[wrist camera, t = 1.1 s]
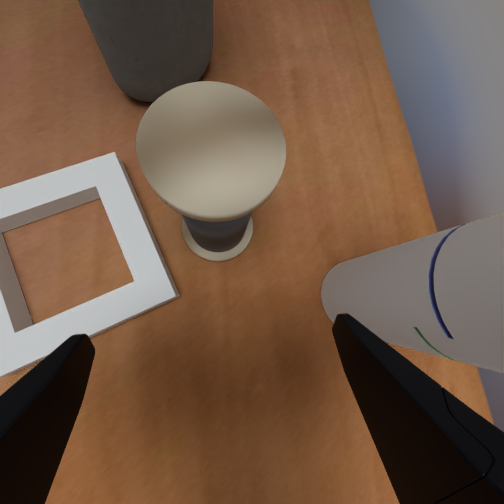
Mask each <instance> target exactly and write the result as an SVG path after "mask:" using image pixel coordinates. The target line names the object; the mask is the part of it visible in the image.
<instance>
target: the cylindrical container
mask: <svg viewBox="0 0 504 504" xmlns="http://www.w3.org/2000/svg"><path fill="white" fill-rule="evenodd" d="M321 300H322V305H323V308H324V310H325V312H326V314H327V316H328V317H329V319H330V320H331V322H333V323H334V321H335V318H336V316H337V315H338V314H342V313H348V314H350V315H351V316H352V317H354V318H355V319H356V320H358V321H359V322H360V323H361V324H363V325H364V326H365V327H366V328H368V329H369V330H370V331H372V332H373V333H374V334H375V335H377V336H378V337H379V338H381V339H382V340H383V341H384V342H386V343H390V344H394V345H398V346H402V347H405V348H409V349H413V350H417V351H421V352H425V353H428V354H432V355H436V356H440V357H444V358H448V359H451V360H455V361H459V362H463V363H467V364H470V365H474V366H478V367H482V368H486V369H489V370H493V371H497V372H501V373H504V212H502V213H499V214H495V215H492V216H489V217H486V218H483V219H479V220H476V221H473V222H470V223H467V224H464V225H460V226H457V227H454V228H450V229H447V230H444V231H441V232H437V233H434V234H431V235H428V236H425V237H421V238H418V239H415V240H412V241H408V242H405V243H402V244H399V245H396V246H392V247H389V248H386V249H383V250H379V251H376V252H373V253H370V254H367V255H363V256H360V257H357V258H354V259H350V260H347V261H344V262H341V263H339V264H337V265H335V266H334V267H333V268H332V269H331V270H330V271H329V272H328V273H327V274H326V276H325V278H324V280H323V284H322V287H321Z"/></svg>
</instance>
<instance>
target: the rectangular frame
mask: <svg viewBox="0 0 504 504" xmlns="http://www.w3.org/2000/svg"><path fill="white" fill-rule="evenodd" d="M99 198H101V200H102V202H103V205H104V207H105V210H106V212H107V215H108V217H109V220H110V222H111V225H112V227H113V230H114V232H115V234H116V237H117V239H118V242H119V244H120V247H121V249H122V252H123V254H124V257H125V259H126V261H127V264H128V266H129V269H130V271H131V274H132V276H133V279H134V282H132V283H129V284H127V285H125V286H122V287H120V288H118V289H115V290H113V291H111V292H108V293H106V294H104V295H102V296H99V297H97V298H95V299H92V300H90V301H88V302H85V303H83V304H81V305H78V306H76V307H74V308H71V309H69V310H67V311H64V312H62V313H60V314H58V315H55V316H53V317H51V318H48V319H46V320H44V321H41V322H39V323H37V324H34V325H33V322H32V319H31V316H30V313H29V311H28V308H27V305H26V302H25V299H24V296H23V293H22V290H21V287H20V284H19V281H18V278H17V275H16V273H15V270H14V267H13V264H12V261H11V258H10V255H9V252H8V249H7V246H6V243H5V240H4V237H3V234H2V233H3V232H6V231H9V230H11V229H14V228H17V227H20V226H23V225H26V224H28V223H31V222H34V221H37V220H40V219H42V218H45V217H48V216H51V215H54V214H57V213H59V212H62V211H65V210H68V209H71V208H73V207H76V206H79V205H82V204H85V203H88V202H90V201H93V200H96V199H99ZM177 297H180V295H179V293H178V290H177V288H176V286H175V283H174V281H173V279H172V276H171V274H170V272H169V269H168V267H167V265H166V262H165V260H164V258H163V255H162V253H161V251H160V248H159V246H158V244H157V241H156V239H155V237H154V234H153V232H152V230H151V227H150V225H149V223H148V220H147V218H146V216H145V213H144V211H143V209H142V206H141V204H140V202H139V199H138V197H137V195H136V192H135V190H134V188H133V185H132V183H131V181H130V178H129V176H128V174H127V171H126V169H125V167H124V164H123V163H122V162H121V160H120V159H119V157H118V156H117V155H116V153H115V152H113V153H110V154H107V155H104V156H101V157H97V158H94V159H91V160H88V161H85V162H82V163H79V164H76V165H73V166H70V167H66V168H63V169H60V170H57V171H54V172H51V173H48V174H45V175H42V176H39V177H35V178H32V179H29V180H26V181H23V182H20V183H17V184H14V185H11V186H8V187H4V188H1V189H0V378H1V377H4V376H7V375H10V374H12V373H15V372H17V371H19V370H21V369H23V368H25V367H28V366H30V365H32V364H34V363H36V362H38V361H41V360H43V359H44V358H45V357H47V356H48V355H49V354H50V353H51V352H53V351H54V350H55V349H56V348H57V347H58V346H60V345H61V344H62V343H63V342H64V341H65V340H67V339H68V338H69V337H70V336H72V335H75V334H87V335H88V336H89V338H91V337H93V336H95V335H97V334H99V333H101V332H104V331H106V330H108V329H110V328H112V327H114V326H117V325H119V324H121V323H123V322H125V321H127V320H130V319H132V318H134V317H136V316H138V315H140V314H143V313H145V312H147V311H149V310H151V309H153V308H156V307H158V306H160V305H162V304H164V303H167V302H169V301H171V300H173V299H175V298H177Z"/></svg>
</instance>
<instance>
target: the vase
mask: <svg viewBox="0 0 504 504" xmlns="http://www.w3.org/2000/svg"><path fill="white" fill-rule="evenodd" d="M78 1H79V3H80V6H81V8H82V10H83V12H84V15H85V17H86V19H87V21H88V24H89V26H90V28H91V30H92V32H93V35H94V37H95V39H96V41H97V44H98V46H99V48H100V50H101V52H102V54H103V57H104V59H105V61H106V63H107V65H108V67H109V70H110V72H111V74H112V76H113V78H114V79H115V81H116V83H117V84H118V86H119V87H120V88H121V89H122V90H123V91H124V92H125V93H126V94H127V95H129V96H130V97H132V98H134V99H137V100H139V101H145V102H155V101H156V100H157V99H158V98H159V97H160V96H162V95H163V94H164V93H166V92H168V91H170V90H171V89H173V88H176V87H178V86H181V85H184V84H188V83H192V82H197V81H198V80H199V79H200V78H201V76H202V75H203V74H204V72H205V70H206V68H207V66H208V64H209V61H210V58H211V53H212V39H213V0H78Z"/></svg>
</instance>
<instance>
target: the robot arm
mask: <svg viewBox="0 0 504 504" xmlns="http://www.w3.org/2000/svg"><path fill="white" fill-rule="evenodd" d="M332 332H333V336H334V339H335V343H336V346H337V349H338V352H339V356H340V359H341V362H342V365H343V368H344V371H345V374H346V377H347V379H348V381H349V384H350V386H351V389H352V391H353V393H354V396H355V398H356V400H357V403H358V405H359V408H360V410H361V412H362V415H363V417H364V420H365V422H366V424H367V427H368V429H369V431H370V434H371V436H372V439H373V441H374V443H375V446H376V448H377V451H378V453H379V455H380V458H381V460H382V462H383V465H384V467H385V470H386V472H387V474H388V477H389V479H390V481H391V484H392V486H393V489H394V491H395V493H396V496H397V498H398V501H399V503H400V504H504V432H503V431H501V430H500V429H498V428H497V427H496V426H494V425H493V424H491V423H490V422H489V421H487V420H486V419H484V418H483V417H482V416H480V415H479V414H477V413H476V412H475V411H473V410H472V409H471V408H469V407H468V406H467V405H465V404H464V403H463V402H461V401H460V400H459V399H457V398H456V397H455V396H454V395H452V394H451V393H450V392H448V391H447V390H446V389H445V388H443V387H442V388H441V385H439V384H438V383H437V382H436V381H434V380H433V379H432V378H430V377H429V376H428V375H427V374H425V373H424V372H423V371H421V370H420V369H419V368H418V367H416V366H415V365H414V364H413V363H411V362H410V361H409V360H407V359H406V358H405V357H404V356H402V355H401V354H400V353H398V352H397V351H396V350H395V349H393V348H392V347H391V346H390V345H388V344H387V343H386V342H384V341H383V340H382V339H381V338H379V337H378V336H377V335H375V334H374V333H373V332H372V331H370V330H369V329H368V328H366V327H365V326H364V325H363V324H361V323H360V322H359V321H358V320H356V319H355V318H354V317H352V316H351V315H350V314H348V313H342V314H338V315H337V316H336V318H335V321H334V324H333V327H332ZM94 356H95V348H94V346H93V344H92V342H91V340H90V338H89V336H88V335H87V334H75V335H72V336H70V337H69V338H68V339H67V340H65V341H64V342H63V343H62V344H61V345H60V346H58V347H57V348H56V349H55V350H54V351H53V352H51V353H50V354H49V355H48V356H47V357H45V358H44V359H43V360H42V361H41V362H40V363H38V364H37V365H36V366H35V367H34V368H33V369H31V370H30V371H29V372H28V373H27V374H26V375H24V376H23V377H22V378H21V379H20V380H19V381H17V382H16V383H15V384H14V385H13V386H11V387H10V388H9V389H8V390H7V391H6V392H4V393H3V394H2V395H1V396H0V504H45V502H46V499H47V496H48V494H49V491H50V488H51V486H52V483H53V480H54V477H55V475H56V472H57V469H58V467H59V464H60V461H61V459H62V456H63V453H64V450H65V448H66V445H67V442H68V440H69V437H70V434H71V432H72V429H73V426H74V424H75V421H76V418H77V415H78V413H79V410H80V407H81V404H82V401H83V398H84V395H85V391H86V387H87V383H88V379H89V375H90V371H91V367H92V363H93V360H94Z"/></svg>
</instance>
